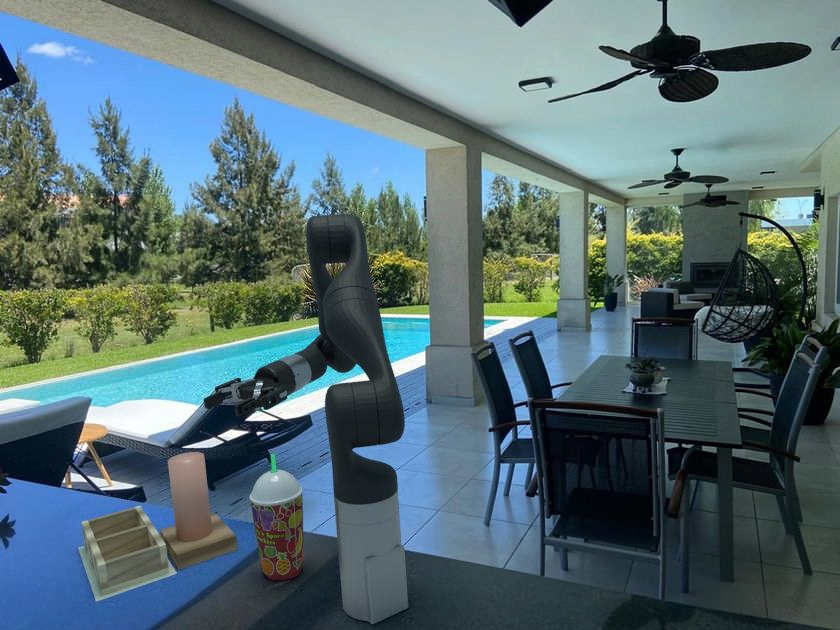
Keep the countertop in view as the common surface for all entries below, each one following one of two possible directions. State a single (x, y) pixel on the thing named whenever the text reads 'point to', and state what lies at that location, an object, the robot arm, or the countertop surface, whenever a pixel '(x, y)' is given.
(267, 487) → the smoothie
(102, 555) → the caddy
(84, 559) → the mat
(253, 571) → the countertop surface
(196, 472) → the pink cylinder
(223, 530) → the board
